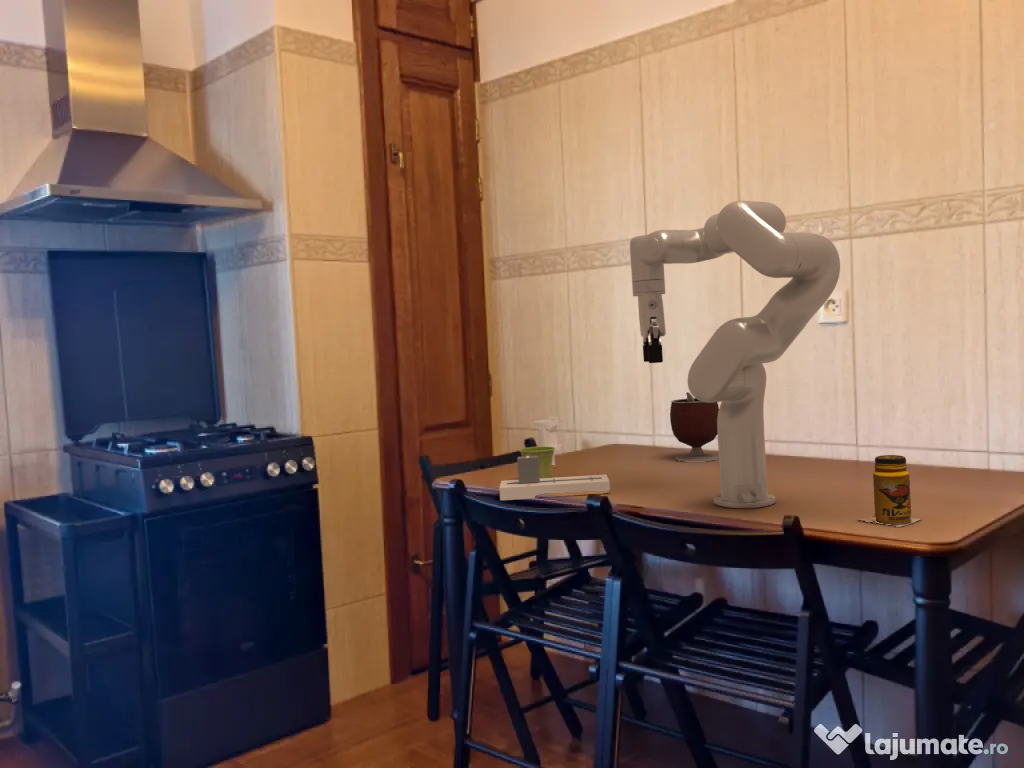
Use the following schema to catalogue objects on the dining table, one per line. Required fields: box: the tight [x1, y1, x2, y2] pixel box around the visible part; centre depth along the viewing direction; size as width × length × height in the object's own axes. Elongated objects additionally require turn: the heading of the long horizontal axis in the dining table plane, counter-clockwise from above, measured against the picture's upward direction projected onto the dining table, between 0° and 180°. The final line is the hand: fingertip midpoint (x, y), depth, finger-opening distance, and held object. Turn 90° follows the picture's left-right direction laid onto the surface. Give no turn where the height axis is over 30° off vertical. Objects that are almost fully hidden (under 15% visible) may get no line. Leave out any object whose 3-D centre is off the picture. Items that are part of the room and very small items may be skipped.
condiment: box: [862, 454, 922, 528], centre depth 155 cm, size 7×8×12 cm
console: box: [499, 473, 611, 501], centre depth 205 cm, size 10×26×3 cm, turn 88°
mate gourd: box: [669, 391, 720, 462], centre depth 242 cm, size 16×14×20 cm
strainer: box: [534, 416, 562, 466], centre depth 244 cm, size 7×7×15 cm
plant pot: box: [518, 446, 555, 478], centre depth 224 cm, size 9×9×9 cm
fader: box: [516, 456, 540, 483], centre depth 205 cm, size 3×5×6 cm, turn 88°
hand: (653, 362), depth 198 cm, fingers open, 9 cm apart
